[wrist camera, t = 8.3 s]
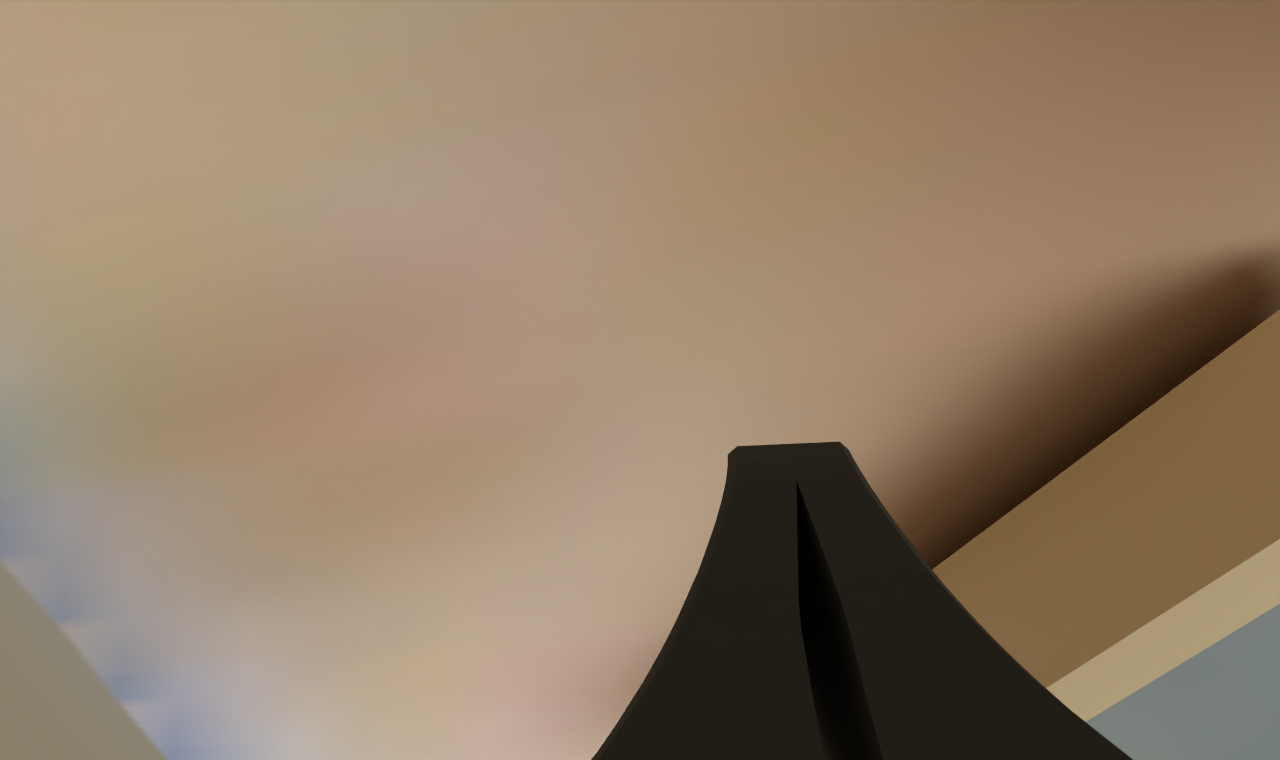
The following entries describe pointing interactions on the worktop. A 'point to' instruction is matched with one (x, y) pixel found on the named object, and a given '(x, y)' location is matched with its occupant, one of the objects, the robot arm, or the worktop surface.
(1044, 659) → the beige grey flat-sided piece
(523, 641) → the worktop surface
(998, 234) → the worktop surface
